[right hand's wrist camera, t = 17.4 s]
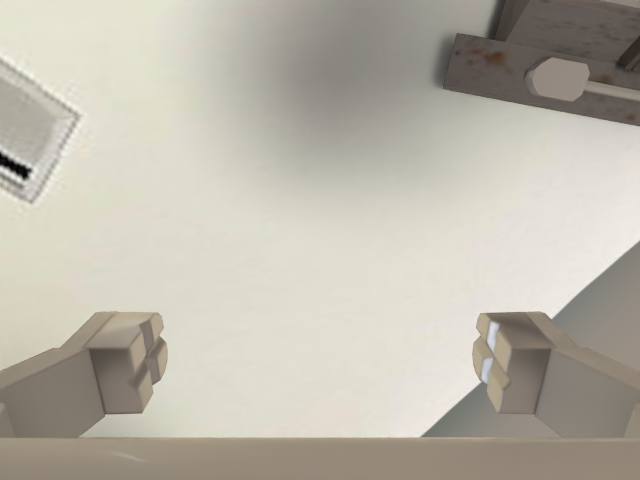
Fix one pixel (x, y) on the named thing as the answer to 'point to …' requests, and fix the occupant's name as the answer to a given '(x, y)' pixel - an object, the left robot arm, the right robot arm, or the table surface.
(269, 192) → the table surface
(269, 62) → the table surface
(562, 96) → the toy
